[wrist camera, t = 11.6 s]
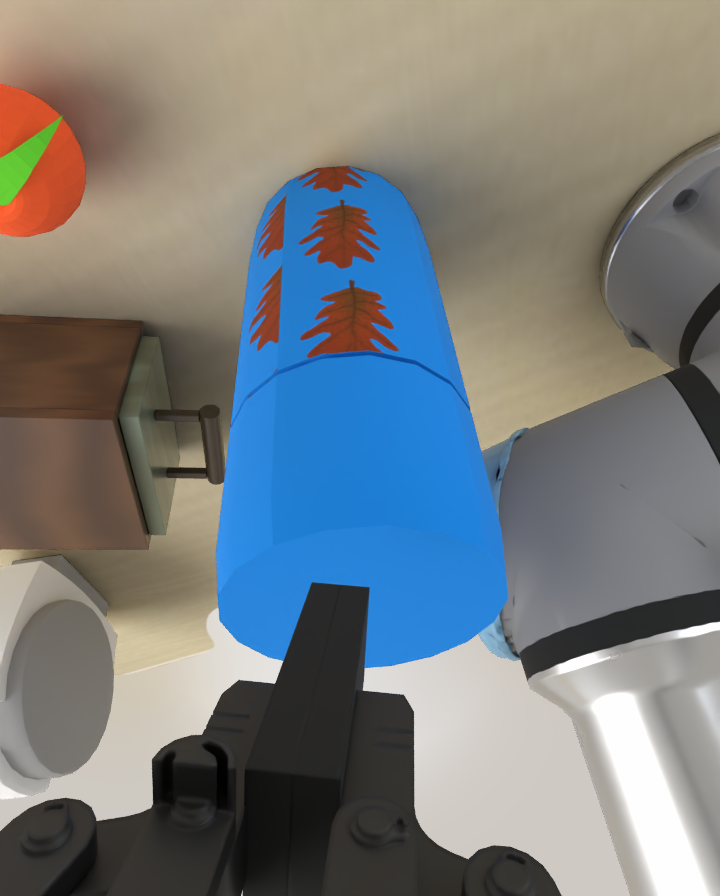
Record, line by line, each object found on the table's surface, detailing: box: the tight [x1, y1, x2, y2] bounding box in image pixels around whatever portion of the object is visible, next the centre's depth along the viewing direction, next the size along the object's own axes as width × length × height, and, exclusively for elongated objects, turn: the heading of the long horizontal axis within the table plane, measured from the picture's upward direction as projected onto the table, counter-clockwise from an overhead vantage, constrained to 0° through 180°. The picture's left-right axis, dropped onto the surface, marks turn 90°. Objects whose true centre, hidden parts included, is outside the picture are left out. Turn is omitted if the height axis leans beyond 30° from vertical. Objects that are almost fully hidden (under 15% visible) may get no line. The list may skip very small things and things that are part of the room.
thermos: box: [216, 166, 508, 668], centre depth 31 cm, size 11×11×25 cm
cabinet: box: [0, 315, 151, 550], centre depth 43 cm, size 15×14×10 cm
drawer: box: [118, 336, 226, 535], centre depth 43 cm, size 18×12×8 cm
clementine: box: [0, 84, 86, 237], centre depth 30 cm, size 8×7×7 cm
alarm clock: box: [0, 555, 117, 800], centre depth 59 cm, size 18×8×20 cm, turn 9°
